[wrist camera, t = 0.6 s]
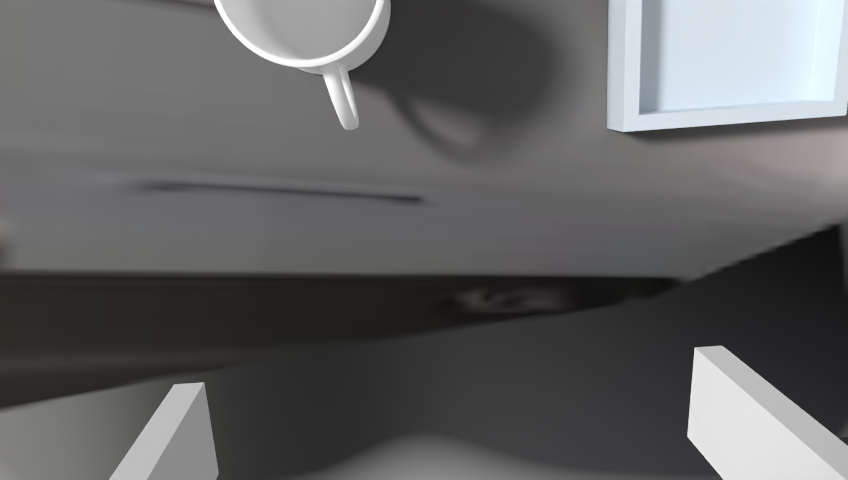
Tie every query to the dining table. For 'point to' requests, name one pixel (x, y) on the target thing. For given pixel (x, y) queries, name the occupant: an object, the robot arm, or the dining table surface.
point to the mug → (313, 38)
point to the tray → (725, 62)
